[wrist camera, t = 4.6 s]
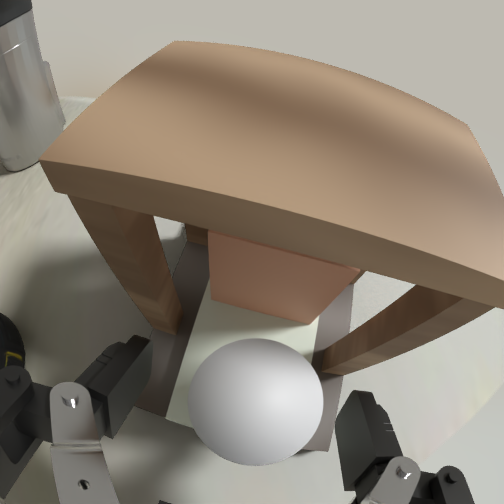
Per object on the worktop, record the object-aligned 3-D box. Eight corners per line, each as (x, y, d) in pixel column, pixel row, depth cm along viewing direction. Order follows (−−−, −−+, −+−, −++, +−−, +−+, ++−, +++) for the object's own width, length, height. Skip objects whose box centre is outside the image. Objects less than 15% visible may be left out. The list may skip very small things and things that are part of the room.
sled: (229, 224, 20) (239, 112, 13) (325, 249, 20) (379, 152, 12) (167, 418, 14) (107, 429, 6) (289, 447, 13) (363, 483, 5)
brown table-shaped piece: (204, 200, 24) (204, 23, 11) (354, 240, 23) (445, 91, 11) (128, 400, 15) (-62, 349, 3) (327, 449, 15) (527, 477, 2)
